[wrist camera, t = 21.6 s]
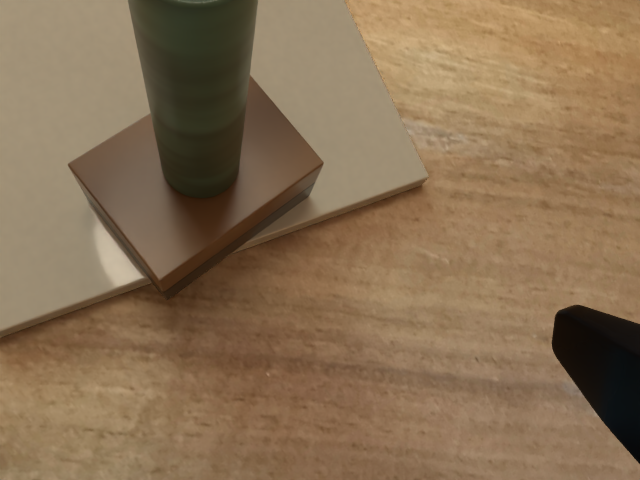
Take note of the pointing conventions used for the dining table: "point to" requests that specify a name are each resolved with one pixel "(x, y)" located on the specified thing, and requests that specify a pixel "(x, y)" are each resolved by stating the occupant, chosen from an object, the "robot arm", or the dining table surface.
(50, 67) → the tile
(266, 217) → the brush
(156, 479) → the dining table surface
